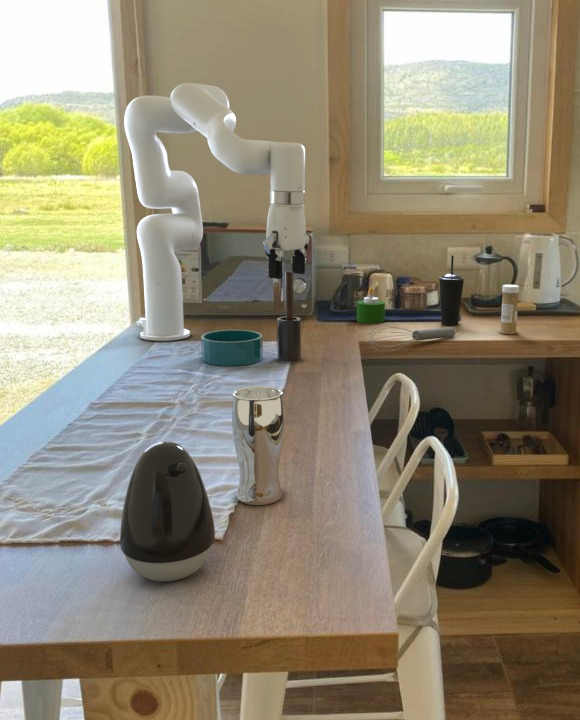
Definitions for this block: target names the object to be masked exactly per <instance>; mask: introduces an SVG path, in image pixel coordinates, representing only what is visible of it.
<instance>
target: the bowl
mask: <svg viewBox="0 0 580 720" xmlns="http://www.w3.org/2000/svg"><path fill="white" fill-rule="evenodd" d="M263 339H264V338H263V333H260V332H258V331H254V330H246V329H223V330H214V331H209V332H206V333H203V334H202V335H201V336H200V342H201V343H200V346H201V361H202V362H203V363H205V364H209V365H212V366H213V365H214V366H220V367H221V366H222V367H223V366H224V367H238V366H246V365H247V366H248V365H252V364H256V363H259V362H262V360H263V359H264V344H263Z"/></svg>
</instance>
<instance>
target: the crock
mask: <svg viewBox="0 0 580 720" xmlns="http://www.w3.org/2000/svg"><path fill="white" fill-rule="evenodd" d="M276 352H277V354H276V355H277V358H276V359H277V360H278V361H280V362H287V363H289V362H298V361H300V360H301V359H302V318H301V317H300V316H299V317H298V316H294V320H286V316H280V317H277V318H276Z"/></svg>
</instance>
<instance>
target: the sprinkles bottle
mask: <svg viewBox="0 0 580 720" xmlns="http://www.w3.org/2000/svg"><path fill="white" fill-rule="evenodd" d="M501 287H502V288H501V291H502V292H501V293H502V301H501V312H500V313H501V315H500V316H501V317H500V330H499V331H500V333H501V334H503V335H515V334H517V322H518V303H519V293H520V286H519V284H518V285H517V284H503V285H502V286H501Z"/></svg>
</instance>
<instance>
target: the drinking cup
mask: <svg viewBox="0 0 580 720" xmlns="http://www.w3.org/2000/svg"><path fill="white" fill-rule="evenodd" d="M454 256H455V255H452V254H451V257H450V272H449V273H444V274H442V275H440V276H438V280H439V281H438V282H439V283H438V284H439V301H440V316H441V325H444V326H458V325H459V322H460V321H459V320H460V313H461V306H462V298H463V290H464V282H465V280H466V278H465V277H464V276H462V275H460V274H458V273H454V260H455V259H454V258H455V257H454Z"/></svg>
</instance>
